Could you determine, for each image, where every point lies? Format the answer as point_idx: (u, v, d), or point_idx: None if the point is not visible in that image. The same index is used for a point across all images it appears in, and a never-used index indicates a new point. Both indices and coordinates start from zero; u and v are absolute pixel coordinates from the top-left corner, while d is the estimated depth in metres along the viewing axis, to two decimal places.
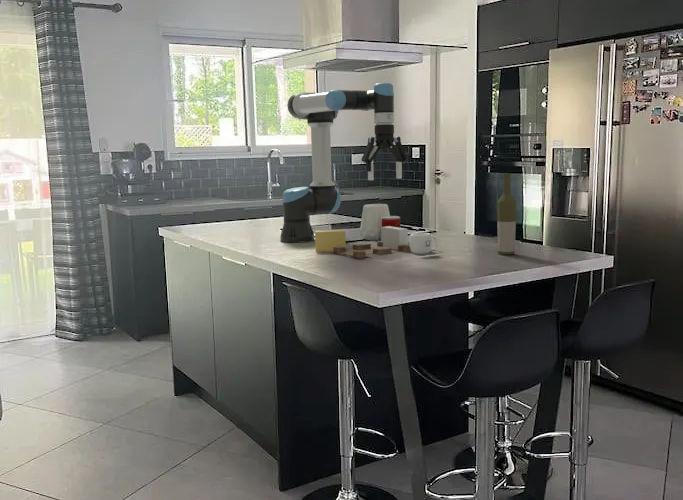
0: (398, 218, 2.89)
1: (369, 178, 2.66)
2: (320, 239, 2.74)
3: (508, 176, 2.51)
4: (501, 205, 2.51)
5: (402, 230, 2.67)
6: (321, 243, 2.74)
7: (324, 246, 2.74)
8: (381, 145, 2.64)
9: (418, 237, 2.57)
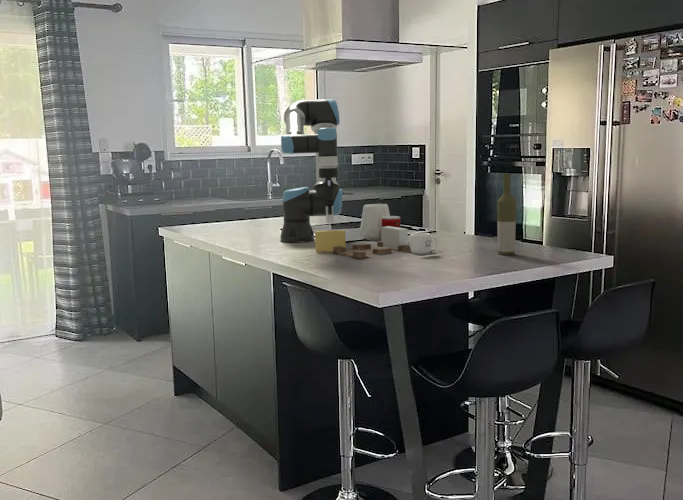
0: (398, 218, 2.89)
1: None
2: (320, 239, 2.74)
3: (508, 176, 2.51)
4: (501, 205, 2.51)
5: (402, 230, 2.67)
6: (321, 243, 2.74)
7: (324, 246, 2.74)
8: (324, 187, 2.75)
9: (418, 237, 2.57)
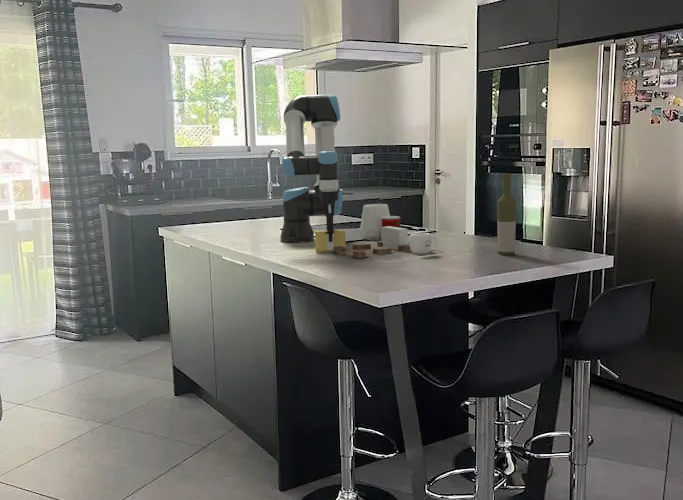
0: (398, 218, 2.89)
1: None
2: (320, 239, 2.74)
3: (508, 176, 2.51)
4: (501, 205, 2.51)
5: (402, 230, 2.67)
6: (321, 243, 2.74)
7: (324, 246, 2.74)
8: None
9: (418, 236, 2.57)
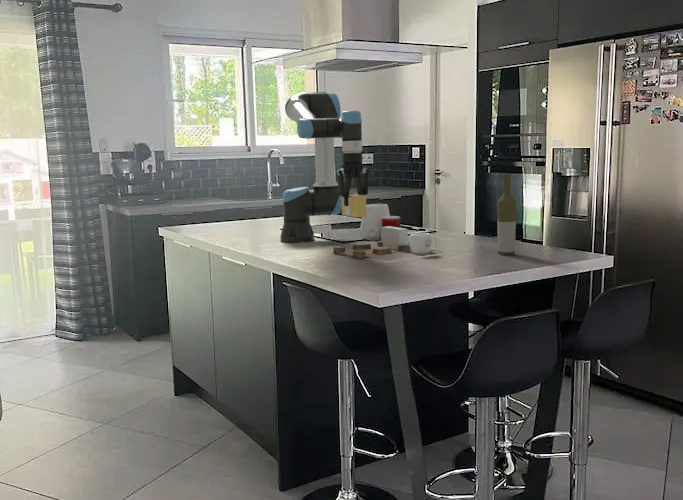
0: (398, 218, 2.89)
1: (347, 212, 2.62)
2: None
3: (508, 176, 2.51)
4: (501, 205, 2.51)
5: (402, 230, 2.67)
6: None
7: None
8: (351, 175, 2.59)
9: (418, 237, 2.57)
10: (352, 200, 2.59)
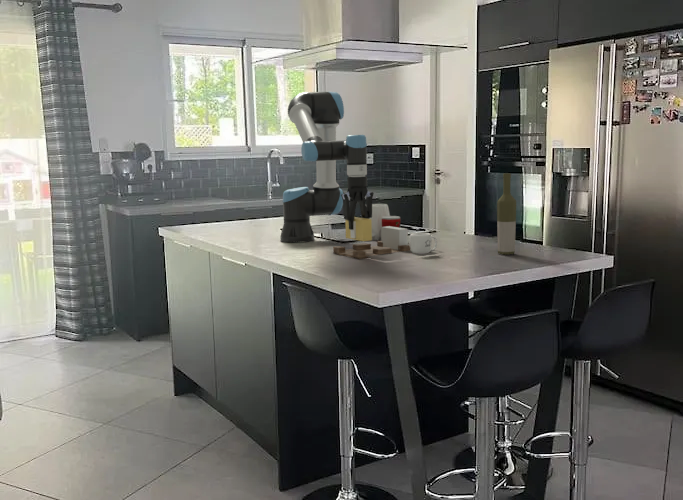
0: (398, 218, 2.89)
1: (352, 236, 2.62)
2: None
3: (508, 176, 2.51)
4: (501, 205, 2.51)
5: (402, 230, 2.67)
6: None
7: None
8: (356, 199, 2.59)
9: (418, 236, 2.57)
10: (357, 224, 2.60)
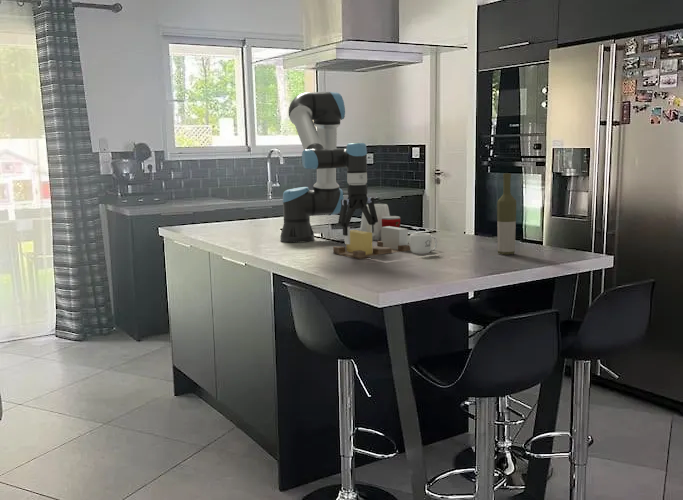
0: (398, 218, 2.89)
1: (346, 242, 2.61)
2: None
3: (508, 176, 2.51)
4: (501, 205, 2.51)
5: (402, 230, 2.67)
6: None
7: None
8: (355, 206, 2.59)
9: (418, 237, 2.57)
10: (358, 238, 2.61)
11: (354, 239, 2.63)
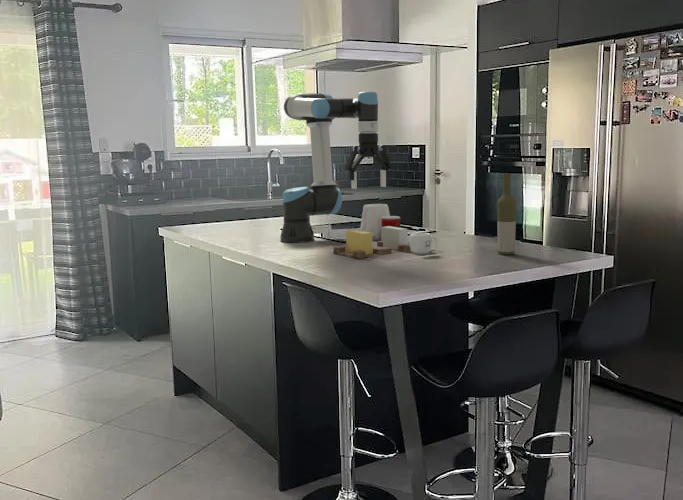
0: (398, 218, 2.89)
1: (352, 186, 2.66)
2: None
3: (508, 176, 2.51)
4: (501, 205, 2.51)
5: (402, 230, 2.67)
6: None
7: None
8: (365, 154, 2.65)
9: (418, 237, 2.57)
10: (358, 238, 2.61)
11: (354, 239, 2.63)
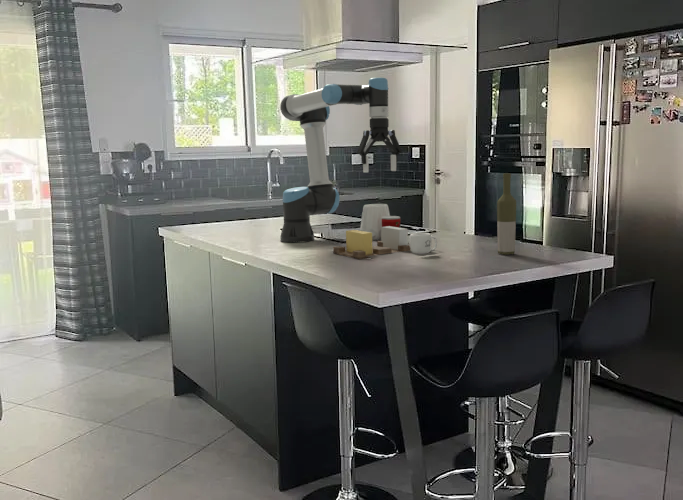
0: (398, 218, 2.89)
1: (364, 170, 2.73)
2: None
3: (508, 176, 2.51)
4: (501, 205, 2.51)
5: (402, 230, 2.67)
6: None
7: None
8: (376, 138, 2.71)
9: (418, 236, 2.57)
10: (358, 238, 2.61)
11: (354, 239, 2.63)
